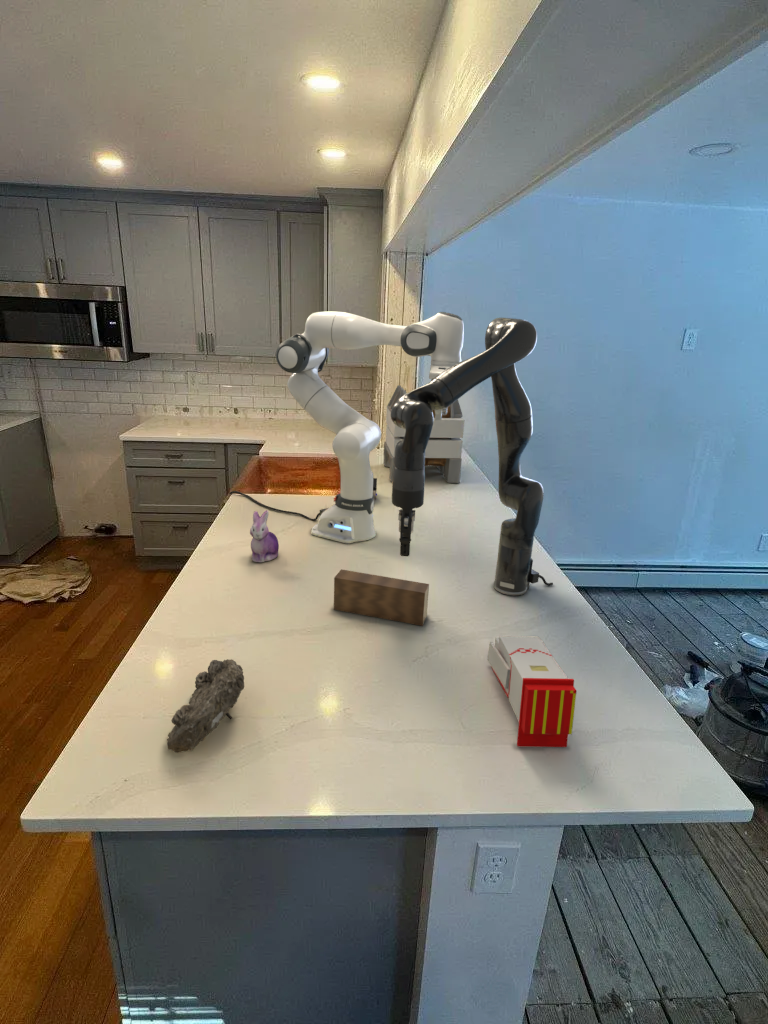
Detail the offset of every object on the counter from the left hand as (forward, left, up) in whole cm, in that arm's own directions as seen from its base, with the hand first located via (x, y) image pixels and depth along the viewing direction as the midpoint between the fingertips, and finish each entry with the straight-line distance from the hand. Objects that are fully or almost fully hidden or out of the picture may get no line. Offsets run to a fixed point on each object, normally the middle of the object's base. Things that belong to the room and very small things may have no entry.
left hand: (440, 417), depth 172 cm
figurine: (-48, -24, -44) cm, 69 cm away
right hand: (+2, -46, -24) cm, 52 cm away
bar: (-4, -44, -44) cm, 63 cm away
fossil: (-23, -93, -44) cm, 106 cm away
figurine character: (-35, +43, -44) cm, 71 cm away
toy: (+33, -68, -44) cm, 88 cm away
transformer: (-24, +90, -44) cm, 104 cm away
